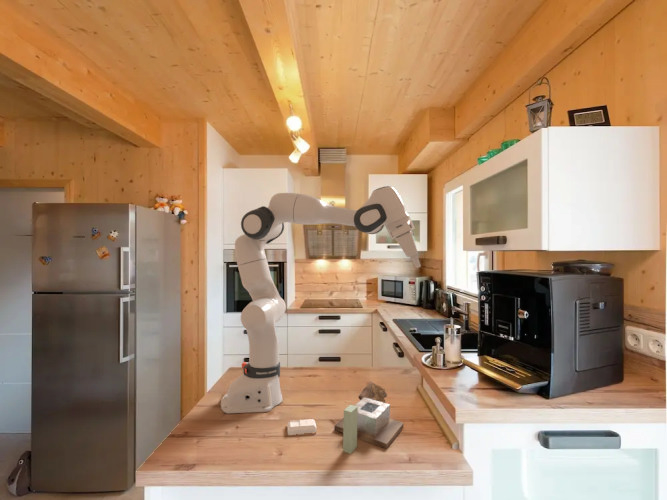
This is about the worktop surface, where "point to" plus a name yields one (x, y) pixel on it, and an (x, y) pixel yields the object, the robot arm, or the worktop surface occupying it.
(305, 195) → the robot arm
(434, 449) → the worktop surface
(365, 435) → the walnut board
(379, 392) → the wooden fragment
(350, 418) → the sage slat
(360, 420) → the grey slotted block
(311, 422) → the soap bar
